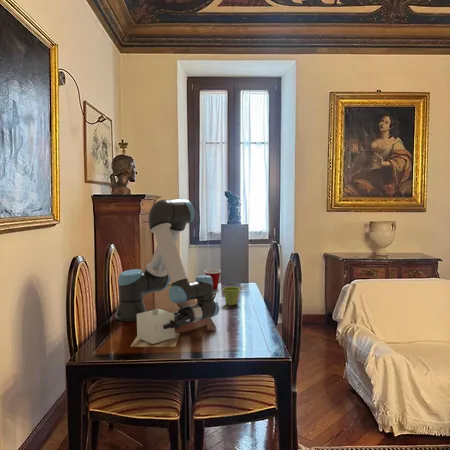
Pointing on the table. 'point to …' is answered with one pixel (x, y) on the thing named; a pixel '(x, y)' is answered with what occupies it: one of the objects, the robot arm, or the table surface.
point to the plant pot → (231, 295)
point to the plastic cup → (214, 276)
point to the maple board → (165, 343)
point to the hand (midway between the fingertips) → (147, 325)
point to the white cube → (147, 326)
